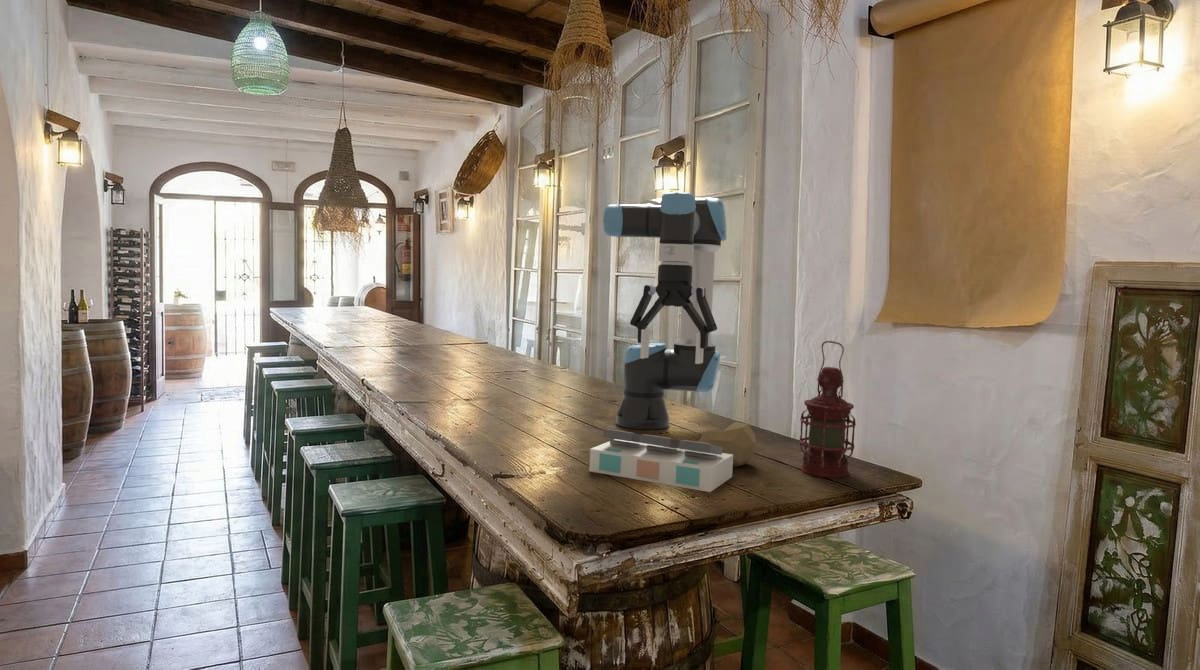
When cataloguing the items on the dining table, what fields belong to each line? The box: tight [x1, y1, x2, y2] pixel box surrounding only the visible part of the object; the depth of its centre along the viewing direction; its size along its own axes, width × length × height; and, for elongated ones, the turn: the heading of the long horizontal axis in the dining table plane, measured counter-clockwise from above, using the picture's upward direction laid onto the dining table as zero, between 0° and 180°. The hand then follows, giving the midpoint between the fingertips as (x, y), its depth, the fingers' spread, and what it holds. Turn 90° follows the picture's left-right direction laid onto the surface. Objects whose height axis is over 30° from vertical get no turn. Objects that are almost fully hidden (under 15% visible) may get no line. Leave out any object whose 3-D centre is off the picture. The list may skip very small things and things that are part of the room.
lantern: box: [798, 340, 857, 479], centre depth 181 cm, size 12×12×30 cm
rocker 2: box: [678, 439, 723, 455], centre depth 171 cm, size 8×7×2 cm
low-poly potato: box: [697, 421, 757, 468], centre depth 186 cm, size 15×11×12 cm
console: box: [588, 439, 734, 493], centre depth 175 cm, size 14×28×6 cm, turn 62°
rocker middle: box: [640, 433, 680, 449], centre depth 175 cm, size 8×7×2 cm
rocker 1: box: [602, 428, 641, 443], centre depth 179 cm, size 8×7×2 cm
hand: (671, 360), depth 178 cm, fingers open, 12 cm apart
